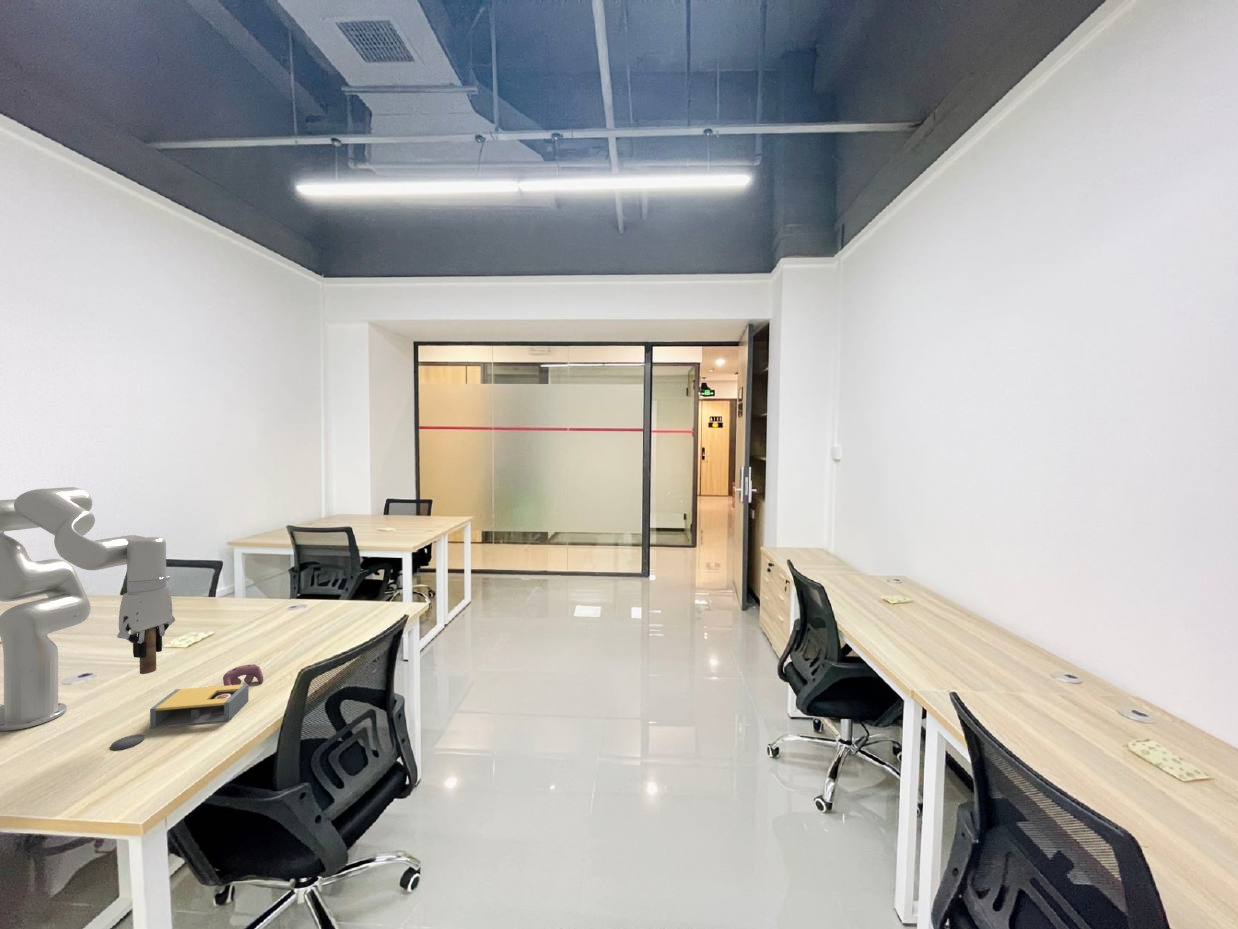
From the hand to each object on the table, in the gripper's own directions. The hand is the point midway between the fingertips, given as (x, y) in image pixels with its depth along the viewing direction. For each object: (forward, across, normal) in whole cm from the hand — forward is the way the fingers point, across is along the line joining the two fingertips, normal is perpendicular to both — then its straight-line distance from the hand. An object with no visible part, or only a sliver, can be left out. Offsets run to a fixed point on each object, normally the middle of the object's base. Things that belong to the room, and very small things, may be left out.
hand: (147, 653), depth 132 cm
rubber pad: (+20, +7, +2) cm, 21 cm away
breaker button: (+17, -10, +12) cm, 23 cm away
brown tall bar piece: (+5, 0, 0) cm, 5 cm away
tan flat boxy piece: (+20, -8, +7) cm, 23 cm away
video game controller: (+20, -25, +3) cm, 32 cm away
